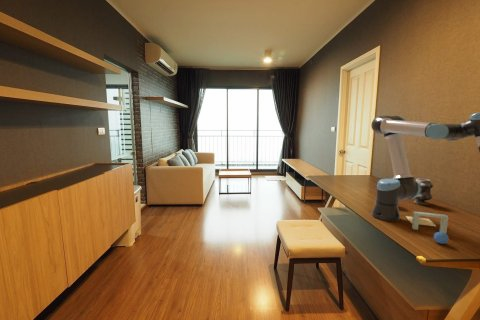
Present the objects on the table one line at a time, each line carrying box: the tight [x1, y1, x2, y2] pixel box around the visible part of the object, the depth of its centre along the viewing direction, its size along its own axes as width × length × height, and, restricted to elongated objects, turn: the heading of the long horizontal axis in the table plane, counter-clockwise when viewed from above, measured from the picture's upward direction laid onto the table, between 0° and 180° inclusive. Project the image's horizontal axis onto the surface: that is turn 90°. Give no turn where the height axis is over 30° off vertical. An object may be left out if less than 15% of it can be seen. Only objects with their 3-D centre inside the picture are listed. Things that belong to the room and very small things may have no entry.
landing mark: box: [405, 215, 437, 227], centre depth 144 cm, size 12×12×1 cm
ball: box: [433, 231, 450, 245], centre depth 116 cm, size 6×6×6 cm
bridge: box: [411, 210, 449, 234], centre depth 130 cm, size 3×14×9 cm, turn 69°
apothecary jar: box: [412, 177, 434, 206], centre depth 178 cm, size 12×12×18 cm
